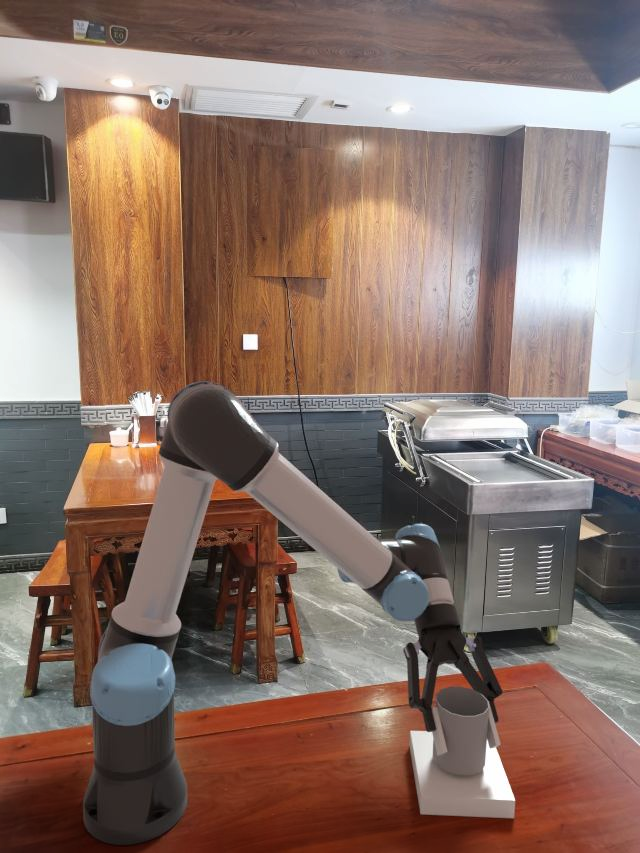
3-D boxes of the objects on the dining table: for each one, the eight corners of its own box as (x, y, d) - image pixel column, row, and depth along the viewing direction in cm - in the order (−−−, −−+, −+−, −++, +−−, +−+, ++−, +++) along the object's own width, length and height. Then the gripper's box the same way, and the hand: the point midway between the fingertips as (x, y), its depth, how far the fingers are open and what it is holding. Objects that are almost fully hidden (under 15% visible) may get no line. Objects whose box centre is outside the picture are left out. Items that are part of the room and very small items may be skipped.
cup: (421, 755, 105) (424, 698, 104) (452, 734, 111) (456, 680, 109) (464, 783, 99) (468, 723, 97) (495, 760, 104) (499, 703, 103)
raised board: (420, 814, 98) (421, 796, 97) (409, 746, 113) (410, 730, 113) (513, 818, 97) (515, 800, 97) (489, 749, 113) (490, 733, 112)
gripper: (480, 612, 119) (519, 746, 106) (371, 621, 114) (398, 763, 101) (496, 596, 113) (540, 737, 100) (382, 605, 108) (412, 754, 96)
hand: (469, 750), depth 101 cm, fingers closed on cup, 8 cm apart
